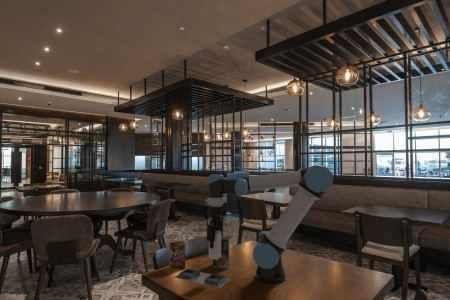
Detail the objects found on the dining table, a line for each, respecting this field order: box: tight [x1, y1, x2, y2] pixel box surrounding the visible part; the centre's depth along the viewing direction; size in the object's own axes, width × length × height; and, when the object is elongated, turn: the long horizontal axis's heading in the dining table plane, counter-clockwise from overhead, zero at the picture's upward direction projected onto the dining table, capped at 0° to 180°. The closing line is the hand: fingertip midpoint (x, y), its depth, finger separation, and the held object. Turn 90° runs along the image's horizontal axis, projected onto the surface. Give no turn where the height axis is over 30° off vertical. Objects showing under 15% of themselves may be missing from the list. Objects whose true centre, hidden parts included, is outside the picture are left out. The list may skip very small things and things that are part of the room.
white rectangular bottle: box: [208, 230, 222, 260], centre depth 139 cm, size 5×4×13 cm
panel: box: [174, 268, 231, 290], centre depth 142 cm, size 26×12×2 cm, turn 63°
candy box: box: [168, 239, 187, 271], centre depth 155 cm, size 9×4×15 cm, turn 98°
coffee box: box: [212, 236, 231, 270], centre depth 159 cm, size 9×6×16 cm
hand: (214, 253), depth 139 cm, fingers closed on white rectangular bottle, 4 cm apart
